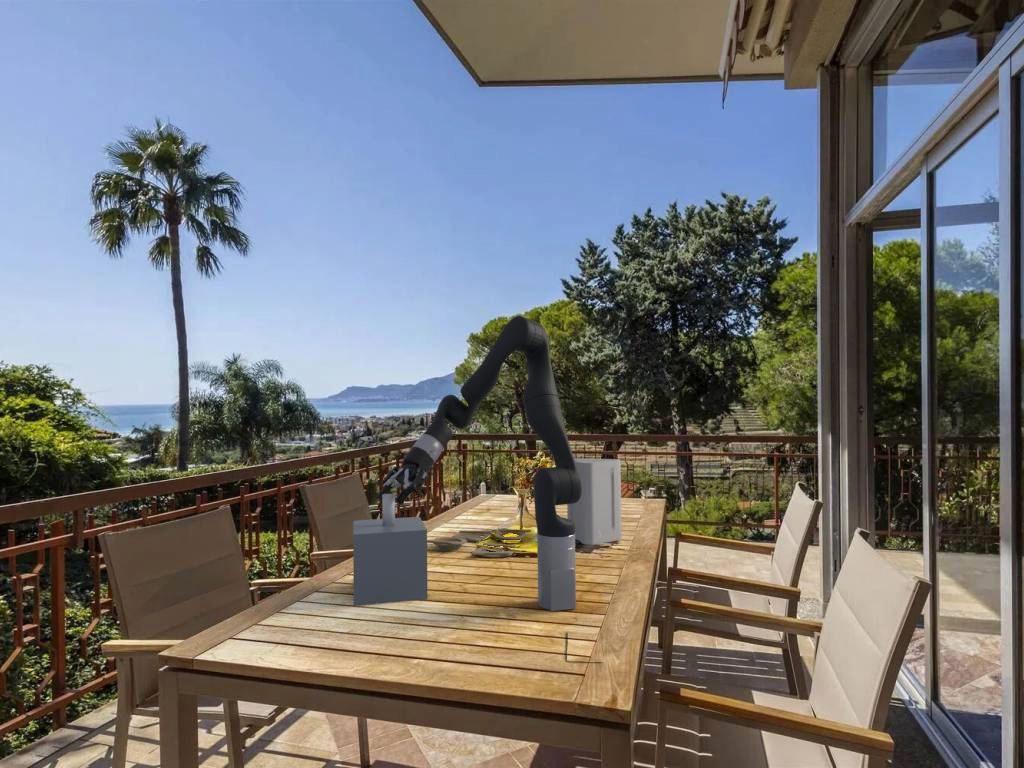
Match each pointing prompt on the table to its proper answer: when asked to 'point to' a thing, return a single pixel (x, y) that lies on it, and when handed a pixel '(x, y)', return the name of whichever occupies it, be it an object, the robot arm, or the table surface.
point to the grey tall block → (598, 502)
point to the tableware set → (464, 536)
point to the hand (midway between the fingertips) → (388, 501)
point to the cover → (389, 558)
